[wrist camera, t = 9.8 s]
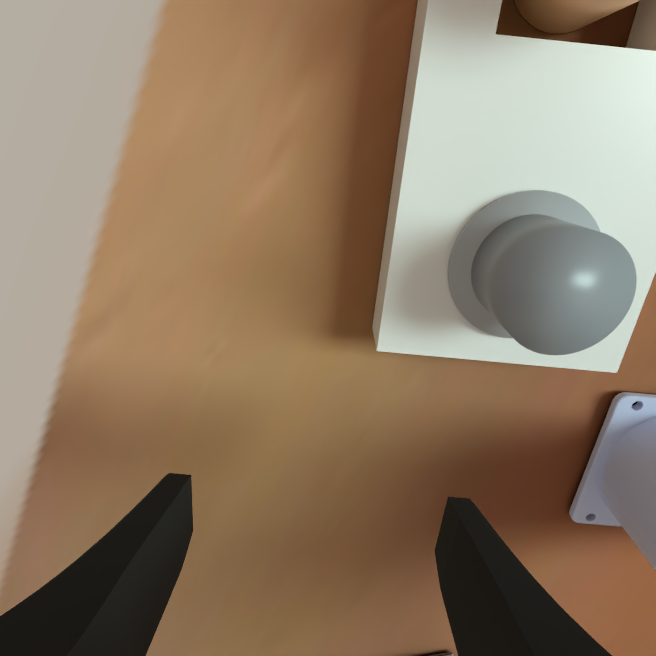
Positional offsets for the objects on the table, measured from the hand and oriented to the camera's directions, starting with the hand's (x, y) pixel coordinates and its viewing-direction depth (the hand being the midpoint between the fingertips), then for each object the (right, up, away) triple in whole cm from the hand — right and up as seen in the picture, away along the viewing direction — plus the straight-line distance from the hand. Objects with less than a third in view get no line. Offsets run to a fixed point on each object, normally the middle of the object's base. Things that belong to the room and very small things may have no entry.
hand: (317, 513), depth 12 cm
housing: (+8, +13, +5) cm, 16 cm away
